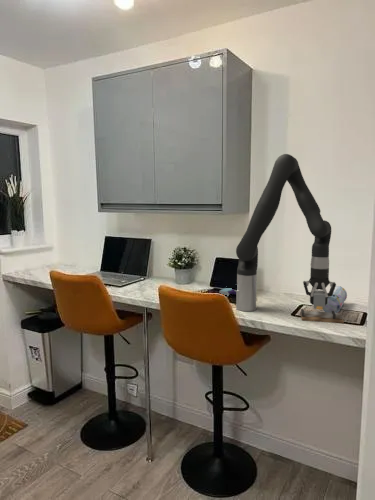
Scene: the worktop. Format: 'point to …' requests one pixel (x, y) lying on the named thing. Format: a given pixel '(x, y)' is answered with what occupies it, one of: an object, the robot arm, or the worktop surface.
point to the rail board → (322, 316)
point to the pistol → (227, 291)
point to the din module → (319, 300)
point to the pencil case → (336, 300)
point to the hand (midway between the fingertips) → (318, 304)
